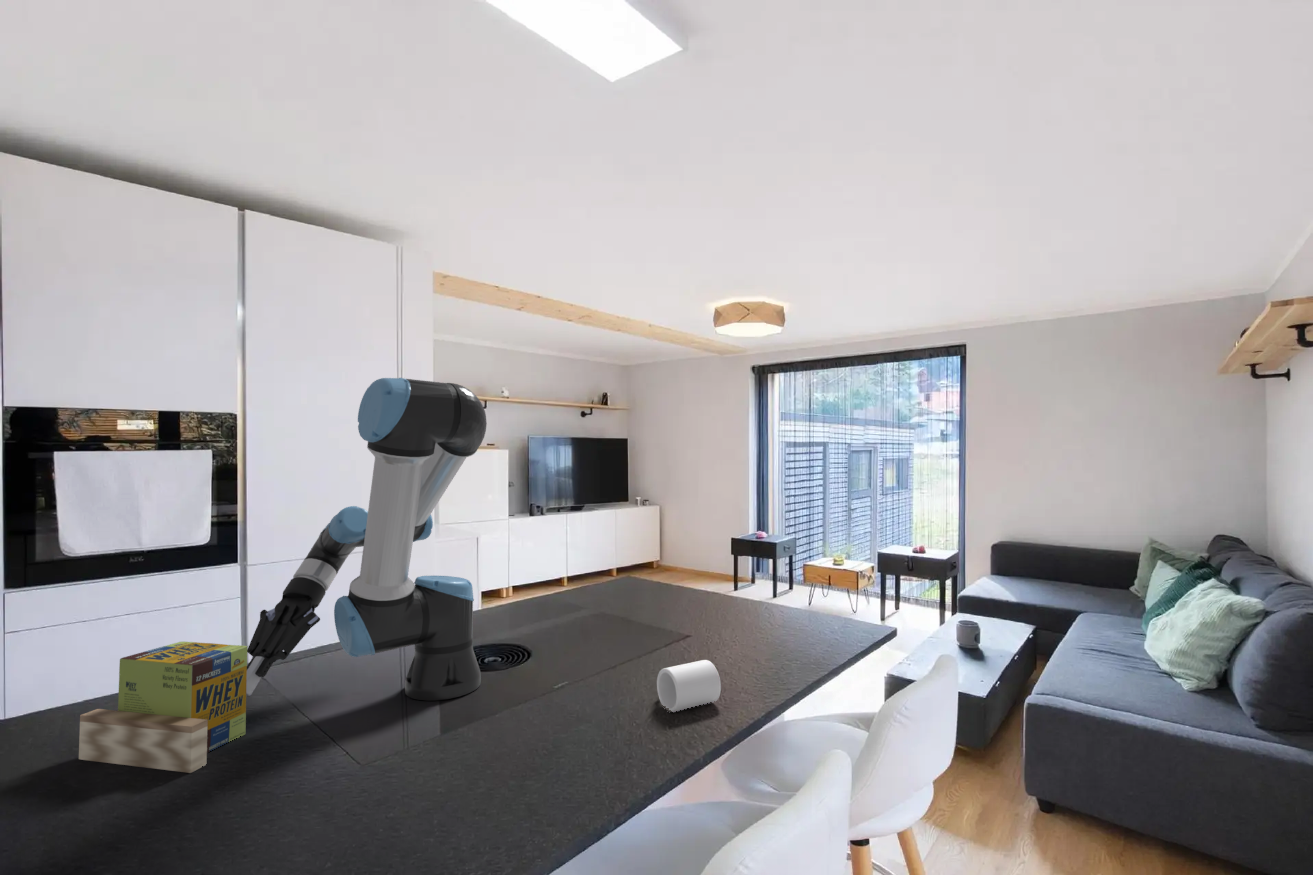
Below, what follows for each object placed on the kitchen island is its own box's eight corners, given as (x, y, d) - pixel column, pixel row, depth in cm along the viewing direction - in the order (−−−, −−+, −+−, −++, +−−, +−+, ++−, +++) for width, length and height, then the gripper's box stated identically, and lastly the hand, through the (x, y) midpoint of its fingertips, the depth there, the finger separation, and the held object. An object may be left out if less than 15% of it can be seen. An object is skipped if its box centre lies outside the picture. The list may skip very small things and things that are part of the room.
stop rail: (206, 764, 96) (207, 719, 96) (190, 772, 93) (191, 726, 93) (96, 751, 100) (97, 708, 100) (78, 759, 97) (80, 715, 98)
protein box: (189, 763, 96) (192, 664, 97) (114, 753, 100) (117, 658, 100) (247, 734, 106) (249, 645, 107) (177, 726, 110) (180, 639, 110)
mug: (721, 707, 117) (721, 666, 117) (678, 719, 112) (677, 675, 112) (687, 687, 127) (687, 649, 128) (646, 697, 122) (646, 657, 122)
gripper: (344, 595, 133) (283, 702, 116) (292, 593, 135) (225, 698, 118) (327, 575, 128) (261, 685, 111) (273, 574, 130) (201, 681, 113)
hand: (243, 692), depth 114 cm, fingers closed
